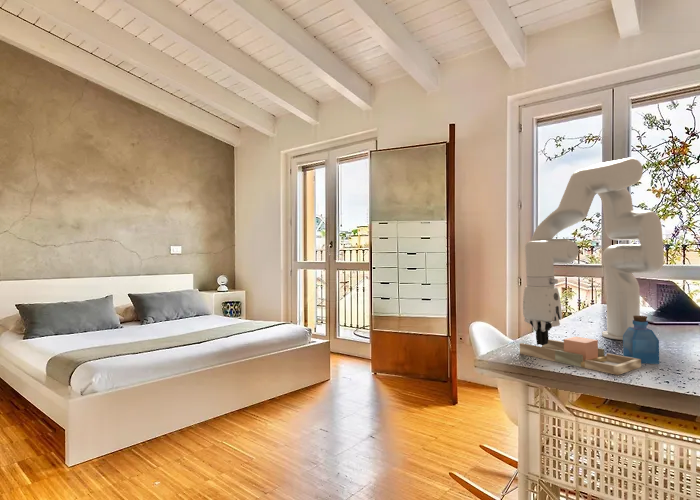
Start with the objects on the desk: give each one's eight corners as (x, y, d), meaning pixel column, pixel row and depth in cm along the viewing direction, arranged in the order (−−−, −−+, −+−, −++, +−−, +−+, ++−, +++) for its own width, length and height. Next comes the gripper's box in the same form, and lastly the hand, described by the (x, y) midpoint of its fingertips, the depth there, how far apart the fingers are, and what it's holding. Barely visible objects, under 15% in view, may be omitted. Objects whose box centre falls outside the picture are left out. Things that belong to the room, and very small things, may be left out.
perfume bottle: (659, 364, 114) (658, 318, 114) (633, 363, 115) (632, 318, 115) (648, 358, 120) (647, 314, 120) (623, 357, 121) (622, 314, 121)
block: (576, 357, 122) (575, 336, 122) (598, 362, 116) (597, 340, 116) (564, 361, 118) (563, 339, 118) (586, 365, 113) (585, 343, 113)
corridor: (543, 348, 133) (543, 338, 133) (641, 367, 111) (640, 355, 111) (519, 353, 127) (519, 343, 127) (618, 375, 104) (617, 362, 104)
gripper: (571, 282, 124) (574, 346, 124) (525, 280, 136) (527, 338, 136) (556, 284, 120) (559, 350, 120) (510, 282, 132) (512, 341, 132)
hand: (542, 343), depth 128 cm, fingers closed
